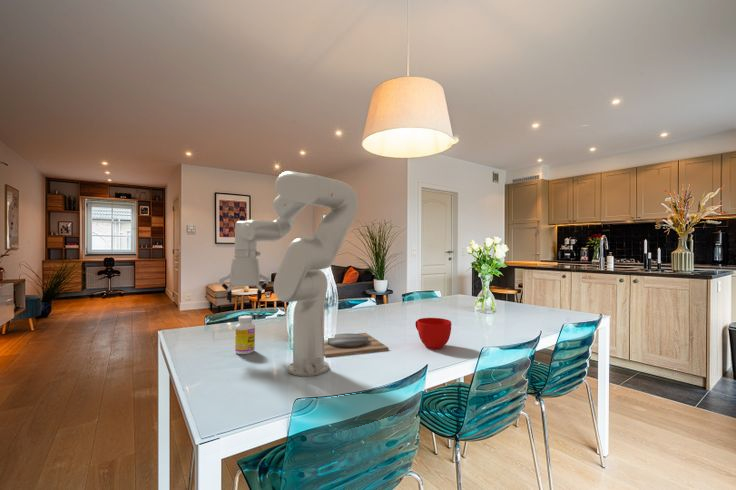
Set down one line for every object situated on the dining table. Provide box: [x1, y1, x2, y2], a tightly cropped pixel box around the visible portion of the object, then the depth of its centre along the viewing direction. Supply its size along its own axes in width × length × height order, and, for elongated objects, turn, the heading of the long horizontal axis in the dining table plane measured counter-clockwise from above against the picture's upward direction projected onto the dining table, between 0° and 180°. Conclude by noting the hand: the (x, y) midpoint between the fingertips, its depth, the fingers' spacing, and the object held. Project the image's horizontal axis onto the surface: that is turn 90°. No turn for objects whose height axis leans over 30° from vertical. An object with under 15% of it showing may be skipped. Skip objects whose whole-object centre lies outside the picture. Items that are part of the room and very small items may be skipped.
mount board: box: [324, 332, 390, 358], centre depth 137 cm, size 24×24×2 cm
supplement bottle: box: [234, 315, 256, 355], centre depth 127 cm, size 7×7×13 cm
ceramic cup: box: [414, 317, 452, 350], centre depth 136 cm, size 13×17×10 cm
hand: (244, 301), depth 127 cm, fingers open, 9 cm apart
